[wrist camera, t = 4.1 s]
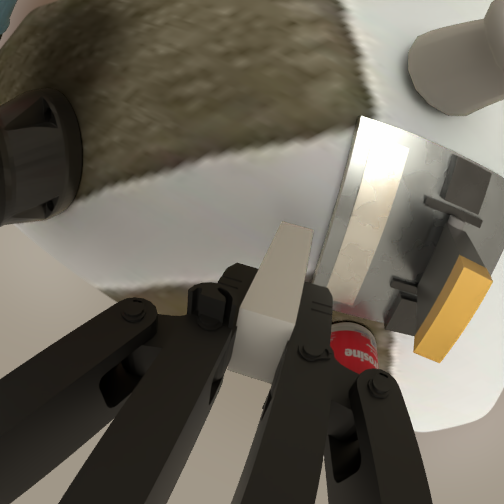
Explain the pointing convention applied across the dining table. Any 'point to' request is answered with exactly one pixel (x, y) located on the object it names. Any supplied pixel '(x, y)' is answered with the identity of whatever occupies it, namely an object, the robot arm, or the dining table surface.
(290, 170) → the dining table surface
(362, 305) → the panel
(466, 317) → the paddle
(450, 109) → the salt shaker
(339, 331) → the pill bottle
